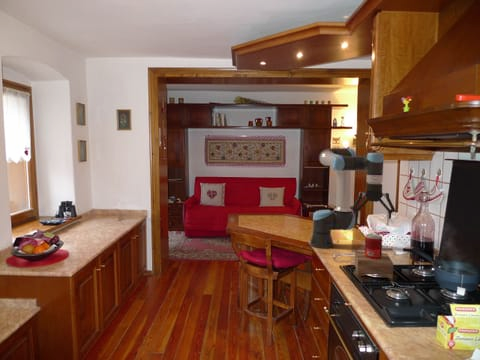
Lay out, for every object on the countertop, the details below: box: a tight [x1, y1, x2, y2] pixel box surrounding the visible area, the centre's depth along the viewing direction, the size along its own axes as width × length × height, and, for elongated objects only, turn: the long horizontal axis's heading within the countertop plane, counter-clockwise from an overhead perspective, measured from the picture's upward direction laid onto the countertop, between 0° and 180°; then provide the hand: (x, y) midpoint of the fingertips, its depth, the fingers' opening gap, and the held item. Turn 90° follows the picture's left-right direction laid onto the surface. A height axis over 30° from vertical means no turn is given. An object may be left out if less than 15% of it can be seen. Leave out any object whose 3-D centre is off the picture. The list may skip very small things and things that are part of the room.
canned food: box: [364, 233, 383, 259], centre depth 163 cm, size 8×8×11 cm
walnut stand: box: [354, 250, 394, 280], centre depth 164 cm, size 16×16×8 cm
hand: (372, 224), depth 163 cm, fingers open, 13 cm apart
